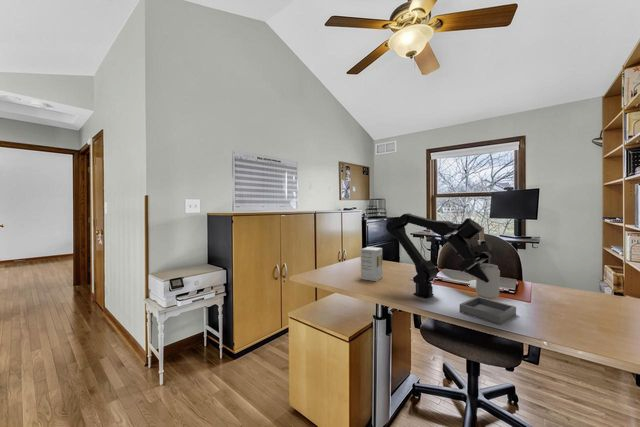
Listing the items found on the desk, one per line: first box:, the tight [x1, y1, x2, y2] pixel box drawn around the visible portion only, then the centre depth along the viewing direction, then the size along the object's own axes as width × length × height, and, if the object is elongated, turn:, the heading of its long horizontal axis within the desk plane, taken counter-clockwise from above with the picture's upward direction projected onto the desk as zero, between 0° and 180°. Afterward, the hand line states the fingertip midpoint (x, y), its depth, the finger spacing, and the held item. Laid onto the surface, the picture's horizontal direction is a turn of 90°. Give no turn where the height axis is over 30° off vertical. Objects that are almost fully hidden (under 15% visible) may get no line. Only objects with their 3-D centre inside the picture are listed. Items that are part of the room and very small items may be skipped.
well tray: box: [459, 295, 517, 326], centre depth 103 cm, size 14×14×3 cm
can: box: [475, 263, 501, 300], centre depth 102 cm, size 8×8×12 cm
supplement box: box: [360, 246, 383, 282], centre depth 150 cm, size 10×9×17 cm
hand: (491, 279), depth 101 cm, fingers closed on can, 7 cm apart
